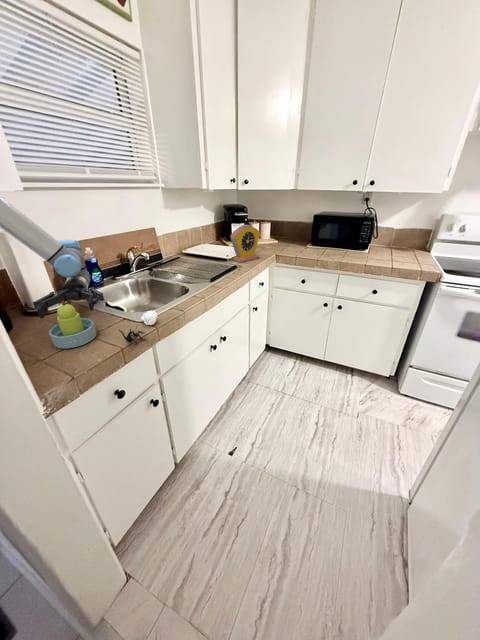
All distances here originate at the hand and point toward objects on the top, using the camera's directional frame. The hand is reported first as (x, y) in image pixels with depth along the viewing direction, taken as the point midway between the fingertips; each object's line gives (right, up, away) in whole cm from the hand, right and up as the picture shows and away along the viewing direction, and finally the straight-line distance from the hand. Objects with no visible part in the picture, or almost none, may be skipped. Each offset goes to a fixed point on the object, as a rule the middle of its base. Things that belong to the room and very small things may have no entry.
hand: (66, 310), depth 80 cm
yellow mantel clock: (+58, +37, +92) cm, 115 cm away
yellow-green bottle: (0, -9, +4) cm, 10 cm away
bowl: (0, -9, +4) cm, 10 cm away
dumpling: (+21, -4, +14) cm, 26 cm away
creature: (+21, -10, +4) cm, 23 cm away
